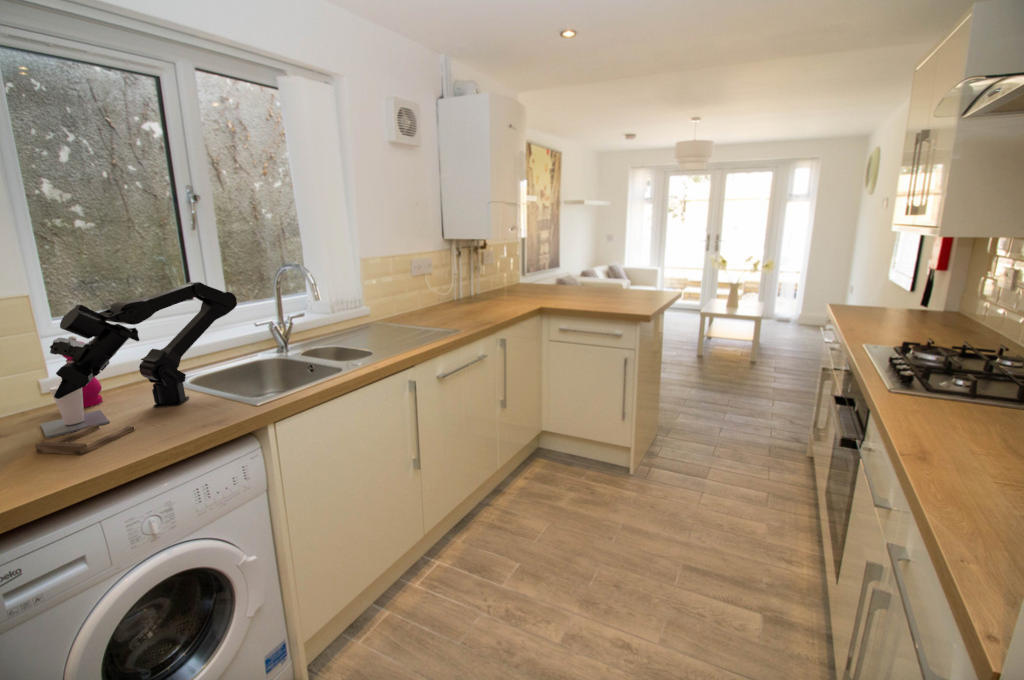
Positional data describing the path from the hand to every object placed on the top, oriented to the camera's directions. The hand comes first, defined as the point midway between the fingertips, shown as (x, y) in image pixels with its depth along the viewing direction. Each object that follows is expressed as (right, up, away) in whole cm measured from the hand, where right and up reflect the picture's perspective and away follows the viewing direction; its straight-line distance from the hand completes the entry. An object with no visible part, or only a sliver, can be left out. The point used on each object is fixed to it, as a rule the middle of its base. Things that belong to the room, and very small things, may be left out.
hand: (61, 393), depth 123 cm
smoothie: (+2, -8, +2) cm, 8 cm away
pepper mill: (-8, -5, +17) cm, 19 cm away
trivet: (+1, -8, +3) cm, 9 cm away
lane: (+13, -10, -7) cm, 18 cm away
